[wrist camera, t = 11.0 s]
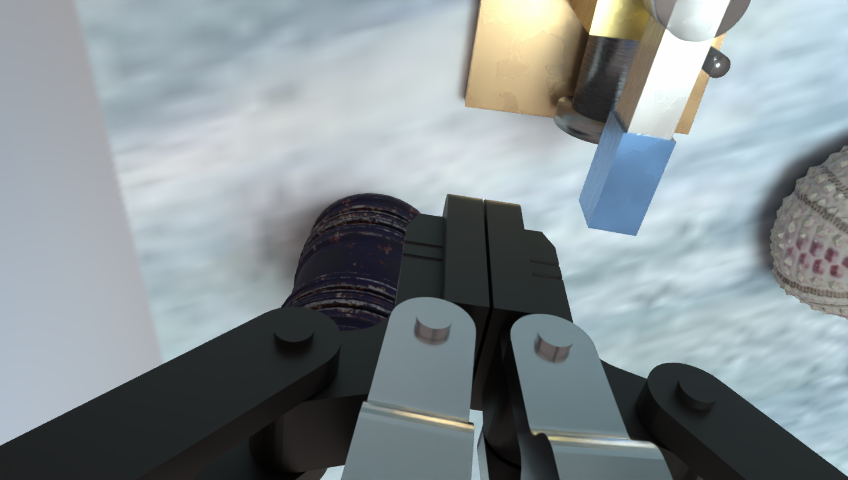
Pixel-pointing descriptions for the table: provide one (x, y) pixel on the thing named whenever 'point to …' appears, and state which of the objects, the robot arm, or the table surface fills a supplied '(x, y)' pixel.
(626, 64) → the valve
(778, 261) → the sea urchin shell
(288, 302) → the storage jar
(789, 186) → the table surface
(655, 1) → the lever
